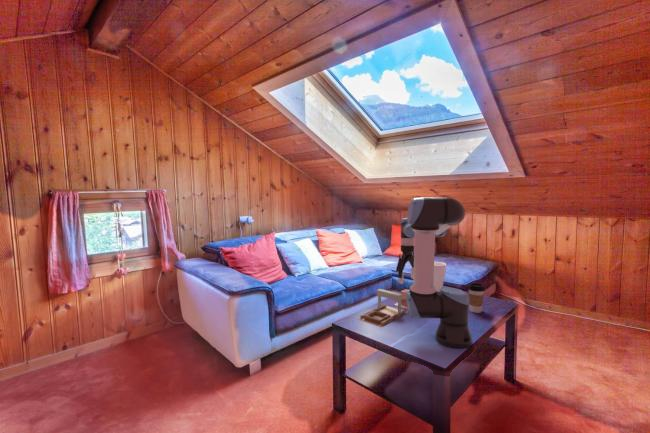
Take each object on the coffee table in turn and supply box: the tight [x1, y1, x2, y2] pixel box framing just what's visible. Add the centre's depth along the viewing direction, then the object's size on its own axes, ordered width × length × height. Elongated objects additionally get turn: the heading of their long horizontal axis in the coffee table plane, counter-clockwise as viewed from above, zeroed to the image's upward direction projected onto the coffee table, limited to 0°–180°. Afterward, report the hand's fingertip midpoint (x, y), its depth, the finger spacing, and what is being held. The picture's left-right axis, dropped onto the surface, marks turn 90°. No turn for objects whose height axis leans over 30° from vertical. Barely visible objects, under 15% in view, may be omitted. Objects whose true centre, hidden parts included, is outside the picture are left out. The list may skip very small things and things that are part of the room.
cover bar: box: [376, 288, 402, 313], centre depth 175 cm, size 3×14×10 cm, turn 46°
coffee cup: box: [467, 282, 485, 314], centre depth 180 cm, size 8×8×15 cm
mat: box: [393, 302, 408, 310], centre depth 191 cm, size 11×11×1 cm
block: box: [400, 288, 410, 306], centre depth 191 cm, size 5×5×8 cm
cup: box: [433, 260, 447, 292], centre depth 202 cm, size 12×12×22 cm
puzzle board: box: [357, 304, 409, 328], centre depth 172 cm, size 26×14×4 cm, turn 136°
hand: (407, 281), depth 189 cm, fingers open, 13 cm apart
